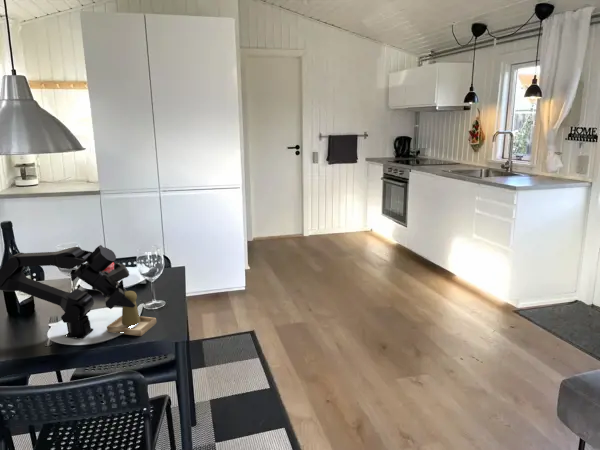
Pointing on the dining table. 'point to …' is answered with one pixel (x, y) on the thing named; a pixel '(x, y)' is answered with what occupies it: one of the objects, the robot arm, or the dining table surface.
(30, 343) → the dining table surface
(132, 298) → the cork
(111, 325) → the tray
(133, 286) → the dining table surface
